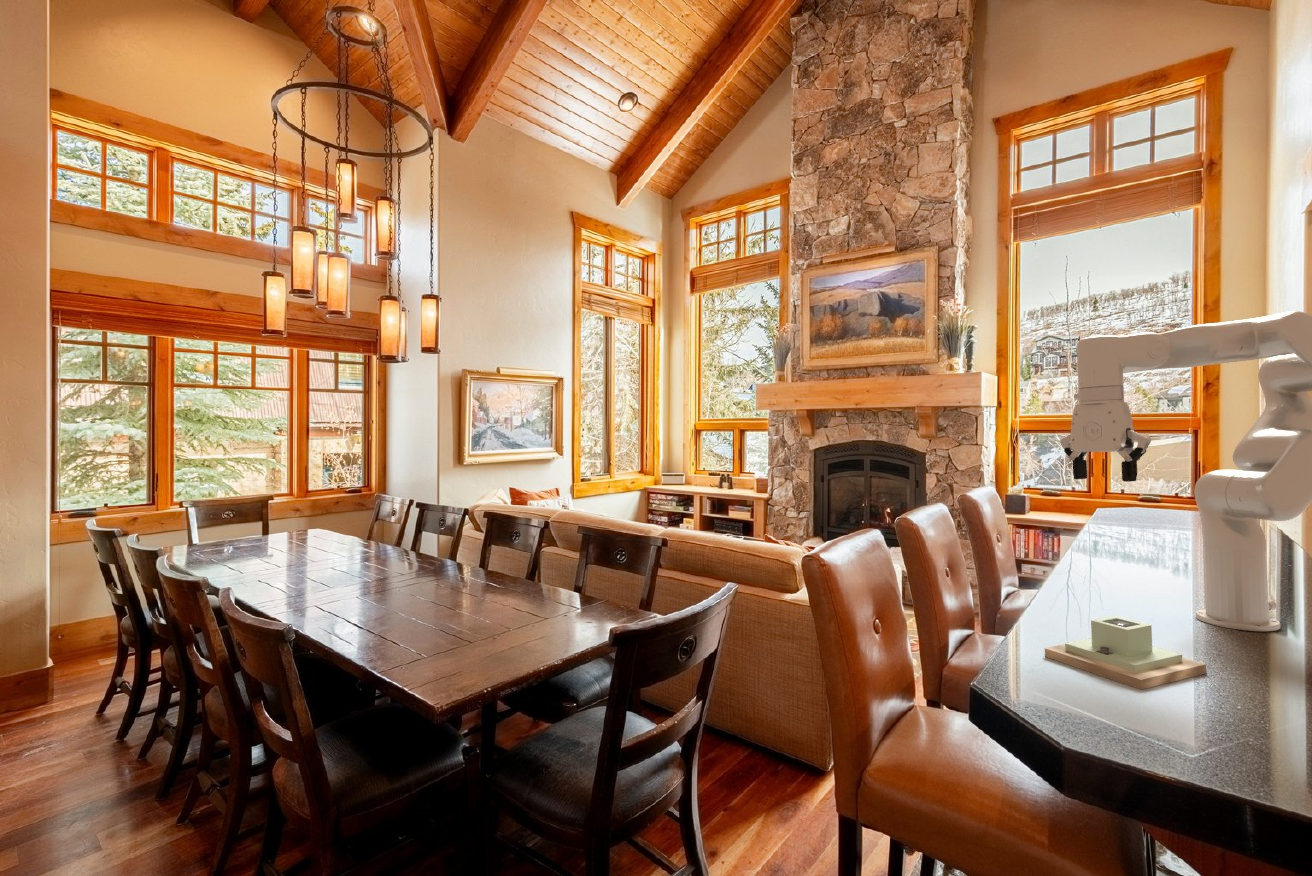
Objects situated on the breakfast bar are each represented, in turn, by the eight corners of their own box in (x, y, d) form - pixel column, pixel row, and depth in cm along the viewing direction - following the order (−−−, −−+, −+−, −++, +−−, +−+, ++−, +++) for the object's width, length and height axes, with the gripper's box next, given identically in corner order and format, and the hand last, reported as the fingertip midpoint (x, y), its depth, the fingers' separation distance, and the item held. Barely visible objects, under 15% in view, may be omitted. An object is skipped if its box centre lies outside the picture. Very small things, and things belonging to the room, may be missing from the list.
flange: (1110, 641, 112) (1108, 610, 112) (1182, 661, 101) (1181, 627, 101) (1065, 650, 108) (1064, 618, 108) (1135, 672, 97) (1134, 637, 97)
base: (1106, 643, 115) (1105, 636, 115) (1206, 673, 100) (1206, 664, 100) (1044, 656, 110) (1044, 648, 110) (1141, 689, 95) (1140, 679, 95)
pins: (1118, 651, 107) (1117, 620, 107) (1136, 657, 104) (1135, 625, 104) (1093, 657, 105) (1092, 625, 105) (1111, 662, 102) (1110, 630, 102)
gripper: (1047, 400, 131) (1050, 479, 131) (1134, 393, 115) (1137, 483, 115) (1072, 399, 134) (1075, 477, 134) (1160, 392, 117) (1163, 481, 117)
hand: (1104, 480), depth 124 cm, fingers open, 9 cm apart
